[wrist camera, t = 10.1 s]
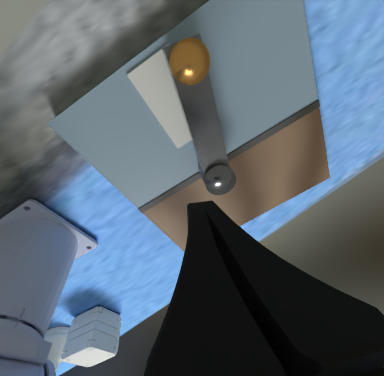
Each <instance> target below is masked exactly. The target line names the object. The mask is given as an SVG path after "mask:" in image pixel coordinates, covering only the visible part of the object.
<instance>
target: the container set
mask: <svg viewBox="0 0 384 376" xmlns="http://www.w3.org/2000/svg"><path fill="white" fill-rule="evenodd" d="M120 321H121V317H120V315H118V314H116V313H114V312H112V311H110V310H108V309H106V308H104V307H103V308H102V306H96V307H95V308H92V309H90V310H88V311H86V312H84V313H82V314H80V315H78V316H77V317H75V318H74V319H73V320H72V322H71V324H72V325H70V327H55V328H51V329H48V330H47V332H46V335H45V338H44V340H46V341H48V342H51V343H52V346H51V349H50V352H49V355H48V358H47V359H48V360H50V361H51V362H52V363H53V365H54V367H55V372H56V370H57V367H58V364H59V363H60V362H61V361H63V362H67V363H72V364H76V365H80V366H85V367H90V366H93V365H96V364H98V363H100V362H102V361H105V360H107V359H109V358H111V357H112V356H115V355H116V353H117V351H118V344H119V339H118V338H119V336H120V327H121V322H120Z"/></svg>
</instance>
